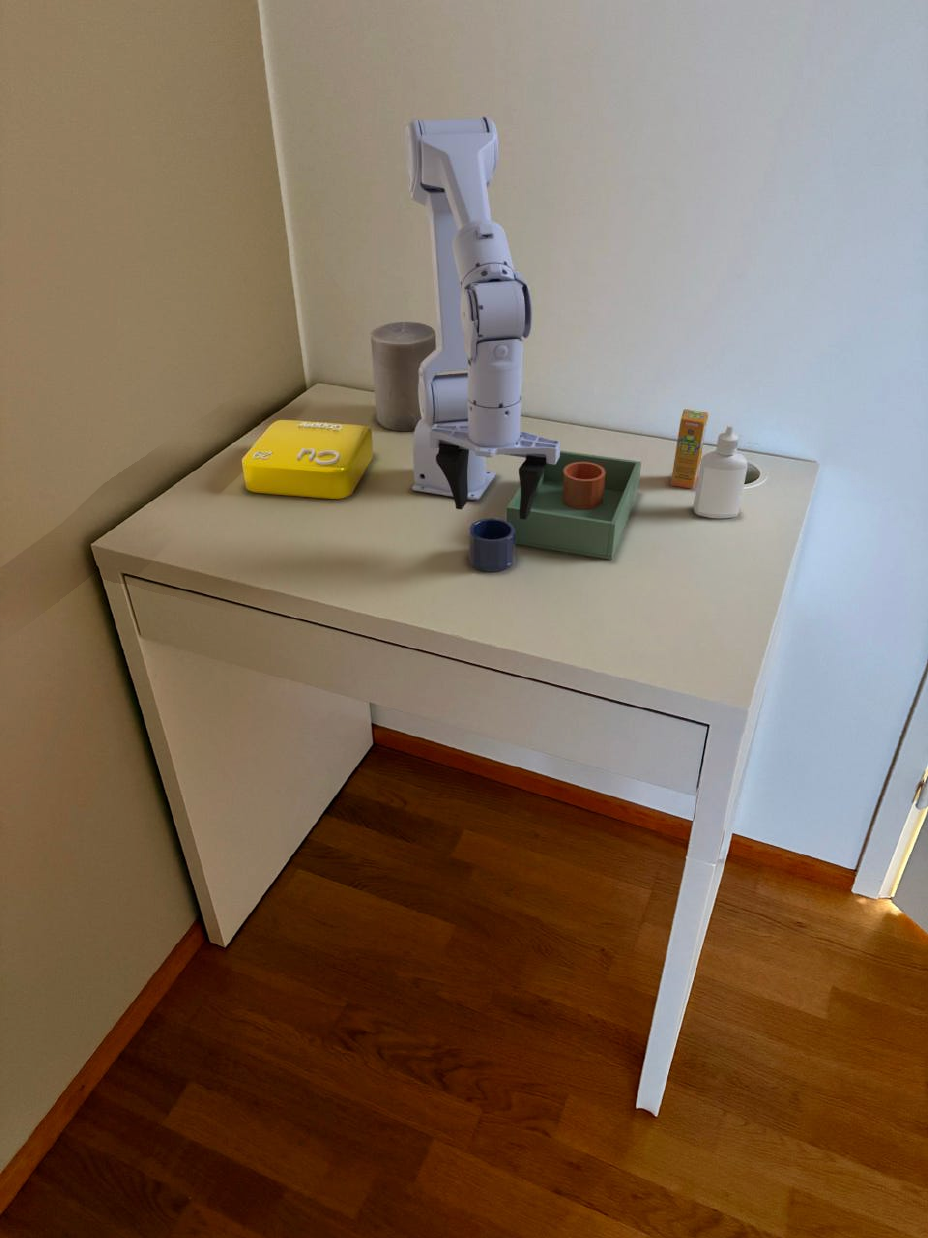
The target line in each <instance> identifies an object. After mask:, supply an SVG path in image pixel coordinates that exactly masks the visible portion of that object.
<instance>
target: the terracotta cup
mask: <svg viewBox="0 0 928 1238" xmlns="http://www.w3.org/2000/svg"><path fill="white" fill-rule="evenodd" d="M605 476H606V472H605V469H604V468H603V467H601V466H600V465H597V464H595V463H590V462H575V463H571V464H569V465H567V466H565V468H564V469H563V479H562V502H563V503H564V504H565V505H566V506H568V507H570V508H573V509H579V510H589V509H594V508H597V507H599V506H600V505H601V504H602V502H603V497H604V487H605Z"/></svg>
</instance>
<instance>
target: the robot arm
mask: <svg viewBox="0 0 928 1238" xmlns="http://www.w3.org/2000/svg"><path fill="white" fill-rule="evenodd" d="M404 137H405V138H404V139H405V140H404V141H405V142H404V143H405V147H404V148H405V160H406V172H407V173H406V174H407V187H408V191H409V192H410V200H412V201H414V202H416V203H418V204H420V205H422V206H424V209H425V211H426V215H427V219H428V225H429V233H430V247H431V248H430V249H431V260H432V276H433V290H434V302H435V316H436V332H437V345H438V346H436V349H435V350H434V351H433V352H432V353H431V354H430V355H429V356H428V357H427V358H426V359H425V360H424V361H423V362H422V363H421V365H420V368H419V385H418V396H419V406H420V413H421V417H422V419H420V420H419V422H418V424H417V426H416V428H415V430H414V433H413V439H412V459H413V460H412V461H413V462H412V463H413V483H414V484H413V485H412V487H411V489H412V491H415V492H420V493H427V494H433V495H439V496H440V495H441V496H445V497H452V498H453V500H454V505H455V508H456V509H457V510H462V509H463V508H464V507H465V505H466V504H467V502H468V500H471V501H479V500H480V499H481V498H482V496H483V495H484V493H485V492H486V490H487V489H488V487H489V486H490V485H491V483H492V482H493V480H494V478H495V477H496V472H495V471H491V470H487V458H493V457H494V456H495V455H496V456H498V455H502V456H503V455H504V456H511V457H519V458H524V461H523V462H522V463H521V464H520V467H519V468H518V475H519V484H520V485H519V487H520V486H521V501H520V519H527V517H528V515H529V513H530V511H531V505H532V501H533V497H534V494H535V491H536V488H537V486H538V483H539V481H540V479H541V477H542V475H543V473H544V471H545V469H546V467H547V465H548V464H554V465H555V464H556V462H557V461H558V459H559V457H560V451H561V440H555V439H549V438H547V437H543V436H539V435H537V434H534V433H530V432H527V431H523V430H521V423H522V422H521V421H522V420H521V419H522V418H521V416H522V388H523V385H522V384H523V356H524V355H523V353H524V349H523V348H524V341H523V339H528V337H529V336H530V333H531V330H532V323H533V322H532V321H533V306H532V298H531V297H532V296H531V293H530V292H531V291H530V288H529V284H528V282H527V280H526V279H525V278H524V277H522V274H521V272H520V271H516V270H515V265H514V263H513V258H512V255H511V251H510V246H509V242H508V238H507V234H506V231H505V229H504V228H503V227H502V226H501V225H500V224H499V223H497V222H495V221H493V220H492V214H491V207H490V200H489V194H488V193H489V192H488V189H489V188H490V186H491V182H492V180H493V177H494V174H495V173H496V171H497V167H498V162H499V138H498V137H499V136H498V131H497V127H496V124H495V122H494V121H493V120H492V118H491V117H490V116H488V115H486V116H482V117H469V118H446V119H445V118H443V119H420V120H419V119H417V118H411V119H410V120H409V123H407V125H406V127H405V135H404ZM522 338H523V339H522ZM459 371H467V372H459ZM447 372H459V373H447ZM441 373H445V374H441ZM446 373H447V374H446Z"/></svg>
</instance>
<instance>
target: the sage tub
mask: <svg viewBox="0 0 928 1238" xmlns="http://www.w3.org/2000/svg"><path fill="white" fill-rule="evenodd" d="M575 462H590V463H595V464H597V465H600V466H601V467H603V468H604V469H605V472H606V476H605V487H604V497H603V502H602V504H601V505H600V506H599V507H597V508H594V509H589V510H579V509H573V508H570V507H568V506H566V505H565V504H564V503H563V502H562V479H563V469H564V468H565V466H567V465H569V464H571V463H575ZM641 467H642V462H641V461H638V460H633V459H631V460H630V459H625V458H624V459H623V458H616V457H610V456H603V455H595V454H588V453H581V452H573V451H566V450H560V457H559V459H558V461H557V462H556V464H555V465H554V464H548V465H547V467H546V469H545V471H544V473H543V475H542V477H541V479H540V481H539V483H538V486H537V488H536V491H535V494H534V497H533V501H532V505H531V511H530V513H529V515H528V517H527V519H520V501H521V486H520V485H519V486H518V489H517V490H516V492H515V494H514V495H513V497H512V499H510V501H509V502H508V505H507V506H506V517H505V518H506V519H505V520H506V521H508V522H510V523H511V524H512V525H514V527H515V530H516V537H515V545H519V546H526V547H531V548H538V549H544V550H549V551H554V552H555V551H556V552H561V553H567V554H573V555H579V556H585V557H591V558H596V559H603V560H608V561H612V560H613V558H614V555H615V552H616V550H617V548H618V545H619V543H620V540H621V538H622V535H623V532H624V530H625V527H626V526H627V522H628V520H629V517H630V515H631V513H632V510H633V508H634V504H635V502H636V500H637V497H638V493H639V485H640V477H641V469H642V468H641Z"/></svg>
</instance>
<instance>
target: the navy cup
mask: <svg viewBox="0 0 928 1238" xmlns="http://www.w3.org/2000/svg"><path fill="white" fill-rule="evenodd" d="M515 537H516V530H515V527H514V525H512V524H511V523H510V522H508V521H506V519H503V518H497V517H490V518H489V517H487V518H482V519H478V520H476V521H474V522H473V523H471V525H470V526H469V528H468V559H469V563H470V565H471V566H472V567H473V568H475V569H476V570H479V571H482V572H485V573H499V572H503V571H505V570H508V569H509V568H511V567H512V566H513V565H514V563H515V557H516V544H515Z"/></svg>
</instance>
